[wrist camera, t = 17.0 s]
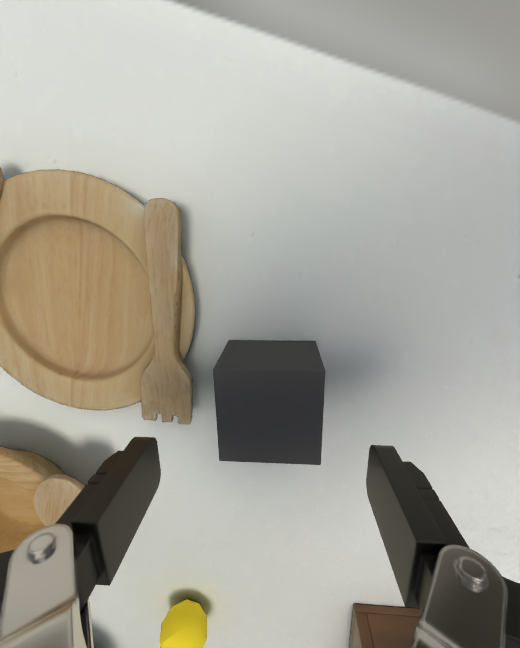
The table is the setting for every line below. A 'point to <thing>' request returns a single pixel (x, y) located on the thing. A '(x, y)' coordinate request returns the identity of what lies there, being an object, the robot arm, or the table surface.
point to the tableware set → (87, 318)
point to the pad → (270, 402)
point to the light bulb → (184, 626)
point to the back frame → (383, 626)
